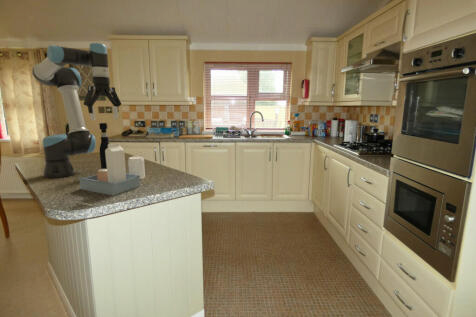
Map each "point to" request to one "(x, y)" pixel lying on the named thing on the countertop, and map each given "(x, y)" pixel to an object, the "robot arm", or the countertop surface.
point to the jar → (102, 175)
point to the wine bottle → (103, 145)
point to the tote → (109, 184)
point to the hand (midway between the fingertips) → (105, 119)
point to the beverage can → (136, 166)
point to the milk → (115, 163)
